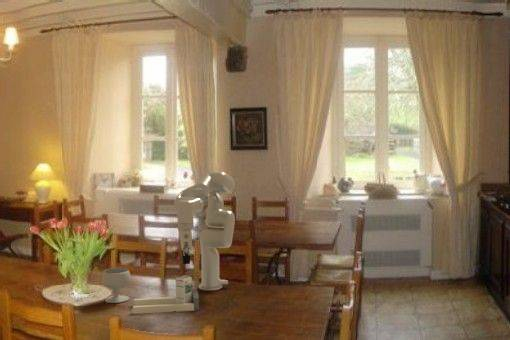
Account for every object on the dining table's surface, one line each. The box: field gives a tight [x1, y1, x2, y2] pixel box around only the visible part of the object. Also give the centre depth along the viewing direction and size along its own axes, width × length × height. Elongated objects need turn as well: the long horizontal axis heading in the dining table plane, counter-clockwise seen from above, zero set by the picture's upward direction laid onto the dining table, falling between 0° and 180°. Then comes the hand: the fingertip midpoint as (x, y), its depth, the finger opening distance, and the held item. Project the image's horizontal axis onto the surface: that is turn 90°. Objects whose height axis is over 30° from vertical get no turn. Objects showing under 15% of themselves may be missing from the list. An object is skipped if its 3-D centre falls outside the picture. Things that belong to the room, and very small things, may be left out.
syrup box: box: [175, 275, 194, 304], centre depth 266 cm, size 6×6×14 cm
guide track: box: [132, 289, 200, 315], centre depth 266 cm, size 30×13×6 cm, turn 100°
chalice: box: [101, 267, 132, 304], centre depth 277 cm, size 14×14×15 cm
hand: (186, 261), depth 266 cm, fingers open, 9 cm apart
